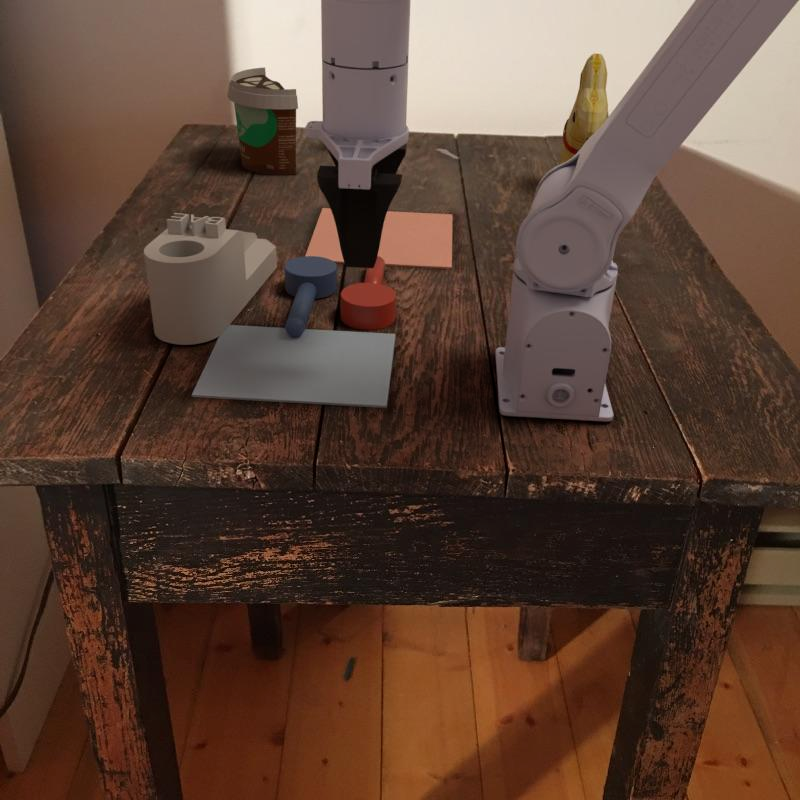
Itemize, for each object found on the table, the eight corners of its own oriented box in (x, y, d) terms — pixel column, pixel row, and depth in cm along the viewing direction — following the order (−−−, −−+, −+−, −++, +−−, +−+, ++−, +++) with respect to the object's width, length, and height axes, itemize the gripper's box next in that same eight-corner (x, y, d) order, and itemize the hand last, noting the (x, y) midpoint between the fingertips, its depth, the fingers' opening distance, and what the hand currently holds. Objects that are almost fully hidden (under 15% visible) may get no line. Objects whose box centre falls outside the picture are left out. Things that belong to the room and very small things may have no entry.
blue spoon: (289, 277, 84) (288, 254, 82) (339, 279, 83) (339, 257, 82) (265, 338, 73) (263, 313, 72) (322, 341, 73) (322, 316, 72)
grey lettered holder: (281, 261, 86) (277, 178, 82) (210, 348, 71) (201, 251, 67) (224, 255, 87) (217, 173, 83) (142, 340, 72) (128, 244, 68)
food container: (219, 152, 114) (213, 69, 109) (267, 148, 117) (263, 66, 111) (249, 183, 105) (244, 94, 100) (300, 177, 107) (297, 90, 102)
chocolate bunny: (557, 203, 103) (575, 63, 95) (554, 172, 112) (570, 43, 104) (619, 207, 102) (642, 67, 94) (611, 176, 111) (631, 46, 104)
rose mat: (451, 269, 86) (451, 267, 86) (303, 261, 87) (303, 259, 87) (452, 216, 98) (452, 214, 98) (322, 209, 99) (322, 207, 98)
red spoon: (393, 331, 75) (394, 307, 74) (337, 328, 75) (337, 304, 74) (401, 270, 86) (402, 248, 85) (352, 267, 86) (352, 245, 85)
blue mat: (386, 408, 65) (386, 405, 65) (191, 397, 66) (191, 394, 66) (395, 336, 75) (395, 333, 74) (224, 326, 75) (224, 324, 75)
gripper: (319, 36, 67) (321, 214, 74) (287, 82, 54) (294, 291, 62) (415, 40, 67) (408, 219, 74) (406, 88, 54) (398, 296, 61)
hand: (362, 252), depth 68 cm, fingers open, 4 cm apart
